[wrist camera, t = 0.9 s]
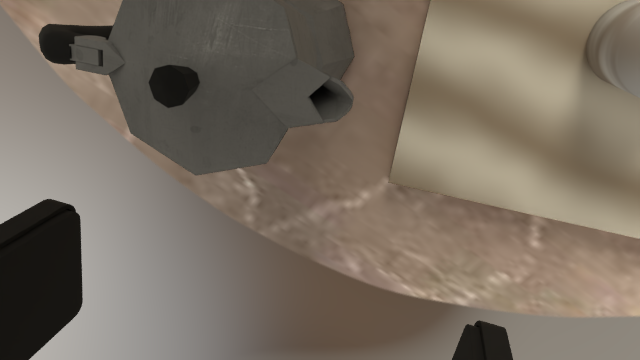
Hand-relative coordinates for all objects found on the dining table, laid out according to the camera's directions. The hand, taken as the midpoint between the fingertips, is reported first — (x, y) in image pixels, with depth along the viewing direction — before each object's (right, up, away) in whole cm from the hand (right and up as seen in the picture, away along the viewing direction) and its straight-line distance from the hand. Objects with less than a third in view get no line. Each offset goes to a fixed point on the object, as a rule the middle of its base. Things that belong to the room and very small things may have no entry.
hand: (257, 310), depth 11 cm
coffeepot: (-2, +13, +23) cm, 27 cm away
